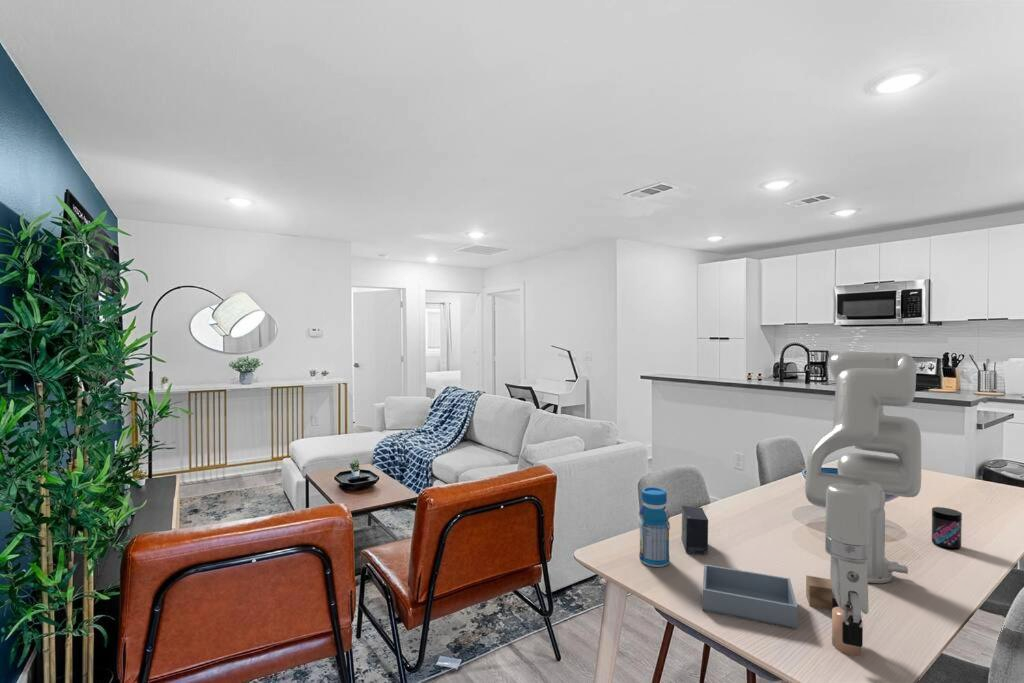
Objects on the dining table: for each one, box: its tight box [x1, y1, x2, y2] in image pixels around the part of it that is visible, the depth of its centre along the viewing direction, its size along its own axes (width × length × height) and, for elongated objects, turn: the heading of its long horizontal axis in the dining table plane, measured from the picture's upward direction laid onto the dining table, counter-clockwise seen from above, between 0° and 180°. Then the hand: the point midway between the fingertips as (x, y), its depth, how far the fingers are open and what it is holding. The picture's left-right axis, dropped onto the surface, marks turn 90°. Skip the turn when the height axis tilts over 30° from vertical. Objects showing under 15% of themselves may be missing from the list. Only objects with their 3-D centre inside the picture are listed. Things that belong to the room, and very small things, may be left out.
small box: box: [680, 505, 709, 556], centre depth 148 cm, size 11×6×10 cm, turn 168°
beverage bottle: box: [638, 486, 671, 568], centre depth 139 cm, size 8×8×20 cm
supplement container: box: [931, 506, 963, 551], centre depth 147 cm, size 7×7×10 cm
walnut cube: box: [805, 575, 835, 611], centre depth 117 cm, size 5×5×5 cm
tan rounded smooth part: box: [831, 607, 863, 656], centre depth 101 cm, size 5×5×7 cm
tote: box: [702, 563, 799, 631], centre depth 117 cm, size 19×13×5 cm
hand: (846, 630), depth 100 cm, fingers open, 9 cm apart
